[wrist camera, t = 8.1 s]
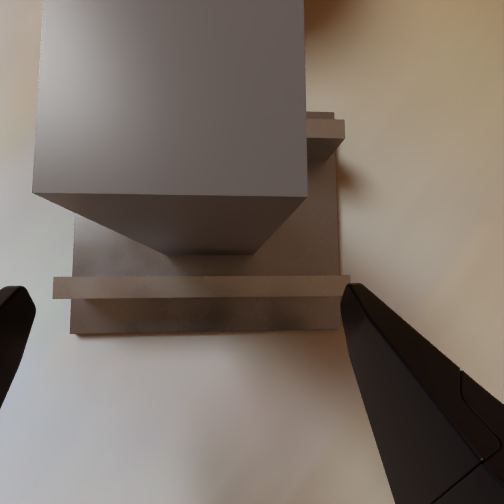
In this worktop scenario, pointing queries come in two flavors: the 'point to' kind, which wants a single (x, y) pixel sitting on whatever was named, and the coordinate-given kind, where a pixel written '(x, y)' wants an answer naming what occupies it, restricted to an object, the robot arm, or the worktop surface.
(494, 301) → the worktop surface
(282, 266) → the bracket
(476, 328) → the worktop surface
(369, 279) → the worktop surface
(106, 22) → the gray rectangular block
